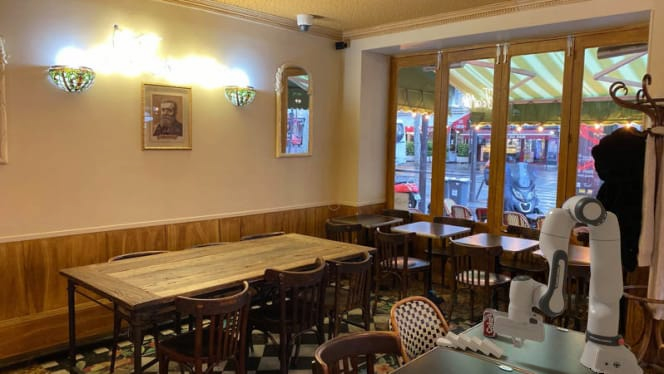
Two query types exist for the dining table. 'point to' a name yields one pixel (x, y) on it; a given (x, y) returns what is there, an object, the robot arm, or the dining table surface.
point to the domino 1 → (445, 343)
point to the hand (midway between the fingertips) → (517, 347)
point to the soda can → (488, 323)
